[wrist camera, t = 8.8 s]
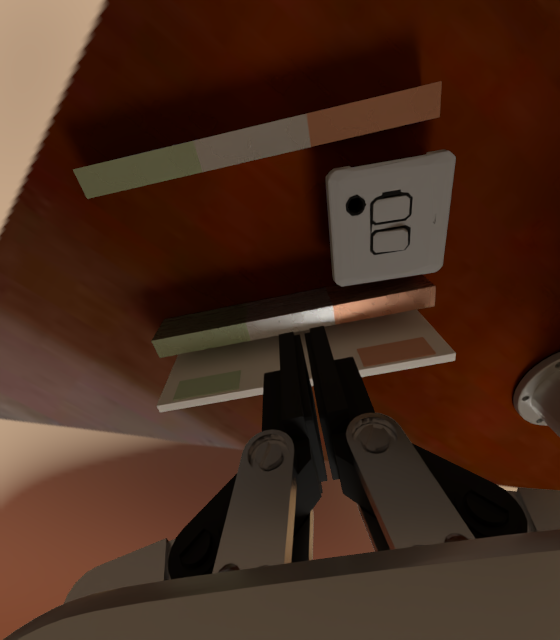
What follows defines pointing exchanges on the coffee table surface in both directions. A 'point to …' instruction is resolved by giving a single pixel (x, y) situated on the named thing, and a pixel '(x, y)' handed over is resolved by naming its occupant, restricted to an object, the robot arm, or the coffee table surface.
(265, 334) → the far rail
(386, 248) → the electrical switch
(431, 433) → the coffee table surface
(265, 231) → the coffee table surface
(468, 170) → the coffee table surface
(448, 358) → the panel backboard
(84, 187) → the near rail
